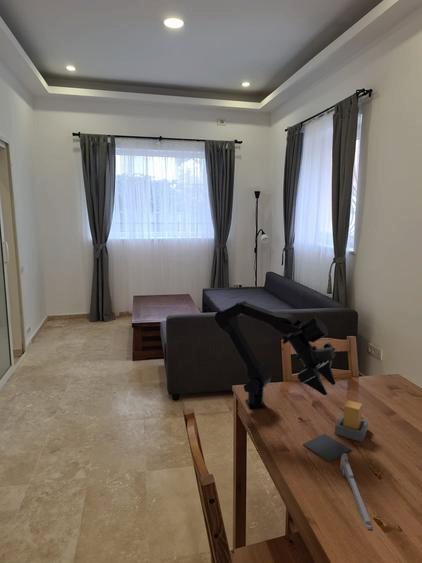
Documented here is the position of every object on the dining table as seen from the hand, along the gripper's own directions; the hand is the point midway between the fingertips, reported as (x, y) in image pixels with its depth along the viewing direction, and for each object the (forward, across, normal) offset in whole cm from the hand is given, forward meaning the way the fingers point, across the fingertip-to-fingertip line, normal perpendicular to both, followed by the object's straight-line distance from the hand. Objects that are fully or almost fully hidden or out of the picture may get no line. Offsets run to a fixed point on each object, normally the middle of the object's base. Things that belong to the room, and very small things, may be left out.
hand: (330, 389), depth 125 cm
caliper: (+20, -29, -4) cm, 35 cm away
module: (+15, +1, +2) cm, 15 cm away
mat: (+12, -12, +6) cm, 18 cm away
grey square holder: (+15, +1, +2) cm, 15 cm away
